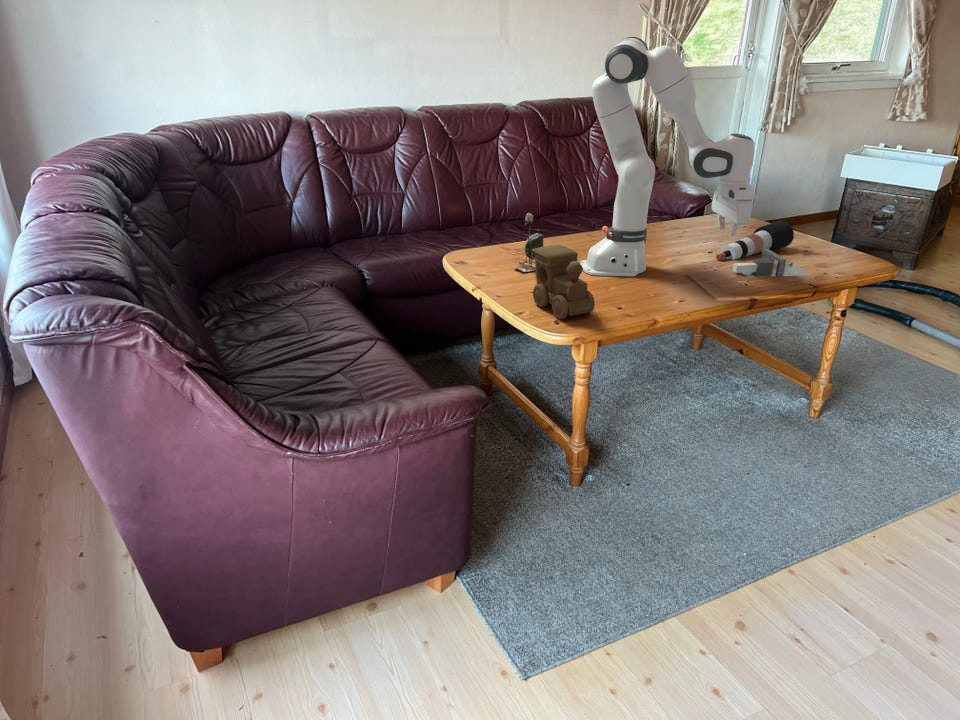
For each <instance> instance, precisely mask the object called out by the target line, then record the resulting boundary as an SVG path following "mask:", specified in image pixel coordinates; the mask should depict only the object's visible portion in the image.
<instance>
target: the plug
mask: <svg viewBox="0 0 960 720" xmlns="http://www.w3.org/2000/svg"><path fill="white" fill-rule="evenodd" d="M773 264H775V262H774V263H773V262H772V261H770V260H768V259H761V258H760V259H753V260H752V262H737V263H736V262H735V263H733V265H732V266H733V267H732V272H734V273H736V274H737V273H741V272H753V273H755V274H756V275H770V274H772V269H773ZM741 274H742V273H741Z"/></svg>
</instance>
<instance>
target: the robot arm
mask: <svg viewBox="0 0 960 720" xmlns="http://www.w3.org/2000/svg"><path fill="white" fill-rule="evenodd" d="M681 58H682V57H680V55H679V54H678V53H677V52H676V50H675V49H674V48H673V47H672V46H671V45H660V46H657V47H655V48H653V49H651V50H650V49H649V48H648V46H647V43H646V42H645V40H643V39H642V38H639V37H638V36H628V37H624V38H623V39H622V40H619V41H618V42H617V43H616V44H614V46H613V47H612V48H611V50H610V51H609V52H608V54H607V55H606V58H605V61H604V72H605V73H604V74H601V75H600V76H598V77H597V78H596V79H595V80H594V81H593V83H592V85H591V95H592V101H593V105H594V109H595V113H596V116H597V118H598V121H599V124H600V126H601V129H602V132H603V135H604V139H605V142H606V144H607V147H608V150H609V153H610V157H611V160H612V163H613V166H614V168H615V171H616V174H617V175H618V181H617V189H616V194H615V200H614V203H613V204H614V205H613V213H612V215H613V216H612V225H611V226H609V227H608V226H607V225H604V226H602V228H601V230H602V232H603V233H604V234H605V237H603V238H602V239H601V240H600V241H598V242H597V243H595V244H594V245H592V246H591V247H590V248H589V250H588V252H587V257H586V259H584V260H580V261H579V262H580V264H581V266H582V267H583V271H582V272H584V273H586V274H588V275H590V276H606V277H607V276H611V277H636V276H638V274H642V273H644V272H646V270H647V263H646V257H645V255H646V254H645V249H646V248H645V246H646V244H647V243H646V241H647V239H648V238H647V236H648V228H647V221H648V211H649V203H650V200H651V199H650V198H651V196H652V190H653V186H654V181H655V176H656V166H655V163H654V161H653V160H652V159H651V157H650V156H649V154H648V152H647V148H646V145H645V143H644V142H645V141H644V137H643V134H642V130H641V126H640V123H639V120H638V116H637V114H636V111H635V109H634V105H633V101H632V99H631V96H630V93H629V83H633V82H637V81H642V80H643V79H644V80H645V81H646V82H647V83H648V85H649V86H650V89H651V91H652V93H653V94H654V97H655V99H656V100H657V102H658V104H659V106H660V107H661V108H662V110H663V111H664V112H665V113H666V115H668V116H669V117H670V118H671V119H672V120H674V122H675V123H676V126H677V127H678V129H679V131H680V134H681V135H682V138H683V140H684V142H685V144H686V147H687V161H688V165H689V167H690V168H691V169H692V170H693V171H694V173H695V174H696V175H697V176H699V177H700V178H703V179H711V178H719V177H720V178H719V184H718V186H717V189H715V191H714V194H713V196H712V197H713V198H712V202H711V210H712V212H714V213H716V214H717V221H718V222H717V224H718V225H717V227H718V229H720V230H725V229H726V225H727V224H726V223H725V221H726V220H728V221H729V222H731V228H730V229H729V231H728V235H729V236H731V237H734V236H737V232H738V230H739V228H740V226H746V225H748V224H749V223H750V220H751V218H752V217H751V216H752V212H753V208H754V207H753V206H754V203H753V200H755V199H756V192H755V190H754V189H753V188H752V185H751V183H750V182H751V170H752V168H753V163H754V158H755V141H754V140H753V138H752V137H750V136H749V135H745V134H742V133H741V134H740V133H730V134H729V135H728V136H726V137H724V138H722V139H721V140H720V139H719V140H717V141H713V140H712V139H710V137H708V136H707V134H706V133H705V131H704V128H703V126H702V124H701V121H700V120H699V117H698V115H697V112H696V99H697V94H696V89H695V86H694V83H693V80H692V77H691V75H690V73H689V71H688V69H687V67H686V65H685V63H684V61H683V59H681ZM725 219H726V220H725Z"/></svg>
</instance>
